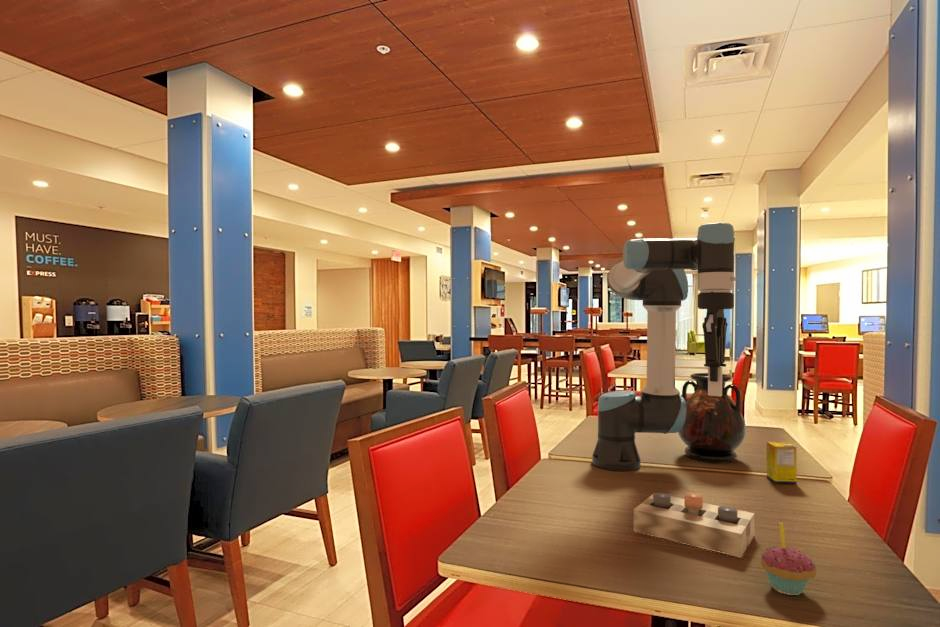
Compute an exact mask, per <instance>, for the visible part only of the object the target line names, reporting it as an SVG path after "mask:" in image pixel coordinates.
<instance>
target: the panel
mask: <svg viewBox="0 0 940 627" xmlns="http://www.w3.org/2000/svg"><path fill="white" fill-rule="evenodd" d="M655 493H656V492H654V493H653V494H655ZM653 494H650V496H649V497H647V498H646V499H645V500H643V501H642V502H641V503H640V504H638V505H637V506H636V507H634V509H633V532H634V531H637V532H640V533H639V534H641V533H645V534H649V535H653V536H657V537H662V538H666V539H670V540H674V541H678V542H682V543H686V544H690V545H694V546H699V547H703V548H707V549H711V550H715V551H720V552H725V553H729V554H733V555H736V556H742V555H743V553H744V551H745V550H746V548H747V546H748V545H749V543H750V541H751V540H752V541H753V539H754V537H755V512H749V511H747V510H746V511H745V510H741V509H737V511H738V517H737V523H736V524H733V523H728V522H724V521H719V520H718V507H720V505H715V504H711V503H707V502H706V503H705V502H703V508H702V509H698V516H696V515H692V514H689V508H687V507H685V506H684V498H681V497H676V496H671V495H670V496H671V507H670V508H669V509H664V508H660V507H655V506H653ZM637 532H636V533H637ZM645 534H644V535H645ZM649 535H648V536H649ZM653 536H652V537H653ZM753 536H754V537H753ZM752 538H753V539H752ZM752 541H751V542H752ZM750 544H751V543H750ZM749 546H750V545H749ZM749 546H748V547H749ZM747 549H748V548H747ZM746 551H747V550H746ZM744 554H745V553H744ZM743 556H744V555H743Z"/></svg>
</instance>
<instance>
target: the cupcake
mask: <svg viewBox="0 0 940 627" xmlns="http://www.w3.org/2000/svg"><path fill="white" fill-rule="evenodd" d="M778 524H779V533H780V534H779V535H780V536H779V537H780V544H781V545H777V546H773V547H769V548H766V549H764V551H762V553H761V558H760V565H761V567H762V568H763V569H764V570H765V572H766V574H767V576H768V580H769V583H770V585H772V586H773V587H774V588H776V589H777V590H780V591H782V592H786V593H790V594H799V593H802V594H803V592H804V589H805V586H806V584H807V582H808V581H809V579H813V578H815V577H816V575H817V568H816V563H814V561H812V559H811V558H809V557H808V556H807V555H806V554H805V553H803V552H801V551H800V550H797V549H795V548H791V547H788V546H787V547H786V539H785V538H786V537H785V528H784V522H783V521H782V518H781V517H779V523H778ZM772 586H771V587H772Z"/></svg>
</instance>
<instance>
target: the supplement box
mask: <svg viewBox="0 0 940 627" xmlns="http://www.w3.org/2000/svg"><path fill="white" fill-rule="evenodd" d="M797 463H798V462H797V446H796V445H794V444H791V443H790V442H788V441H766V478H767V479H768V480H769V481H770V482H773V484H779V485H797V475H798V474H797V470H798V469H797Z"/></svg>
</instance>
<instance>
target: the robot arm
mask: <svg viewBox="0 0 940 627" xmlns="http://www.w3.org/2000/svg"><path fill="white" fill-rule="evenodd" d="M734 231H735V230H734V226H733V225H732V224H731V223H728V222H712V223H711V222H710V223H704V224H701V225H700V226H699V227H698V228H697V236H696V238H636V239H635V238H633V239H628V240H626V241H625V242H624V245H623V249H622V261H621V262H620V261H619V262H618V263H616V264H614V265H612V267H611V268H610V269H609V271H608V273H607V275H606V276H607V277H606V281H607V286H608V287H609V289H610V290H611V291H612V292H613V293H614V294H615V295H616V296H618V297H620V298H622V299H626V300H630V301H631V300H632V301H642V307H643V308H644V309H645V310H646V311H647V315H646V316H647V317H646V318H647V319H646V320H647V322H646V324H647V328H646V329H647V331H646V340H647V341H646V384H645V386H644V387H642V389H641V393H640V394H641V395H636V392H635V391H634V390H633V391H632V390H616V391H615V390H614V391H609V392H605V393H603V394H601V395H599V397H598V399H597V400H598V401H597V409H596V410H597V441H596V444H595V446H594V450H593V453H592V457H591V461H592V462H591V463H592V465H593V466H595V467H597V468H600V469H603V470H604V469H605V470H610V471H620V472H621V471H622V472H623V471H625V472H626V471H633V470H634V471H635V470H638V469H641V466H642V464H641V463H642V461H641V457H640V453H639V449H638V447H637V444H636V433H639V434H641V433H644V434H645V433H646V434H648V433H649V434H664V435H666V434H676V433H677V434H678V432H679V431H680V430H681V429H682V428H683V425H684V423H685V418H686V402H685V399H684V398H683V397H682V395H681V391H680V390H679V389H678V388H676V341H677V340H676V335H677V334H676V332H677V331H676V330H677V326H676V325H677V320H676V319H677V311H678V310H679V309H681V307H682V301H685V300H687V298H688V295H689V294H688V293H689V283H688V282H689V281H688V276H687V273H686V271H685V270H689V271H690V270H691V271H697V291H699V292H698V294H697V309H699V310H706V313H705V314H706V315H705V317H704V319H703V320H704V321H703V323H702V325H701V326H702V330H703V339H704V340H703V342H704V357H705V359H704V360H705V362H704V363H703V366H704V368H705V367H706V368H707V373H708V395H710V396H722V374H723V367H724V368H725V367H727V363H726V358H725V357H726V340H727V329H728V324H729V323H728V322H727V317H725V312H724V310H732V309H734V307H735V306H734V305H735V298H734V297H735V296H734V295H735V294H734V293H733V292H731V291H733V290H734V284H735V281H737V276H735V275H734V271H735V270H734V269H735V241H736V239H735V232H734Z"/></svg>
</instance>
